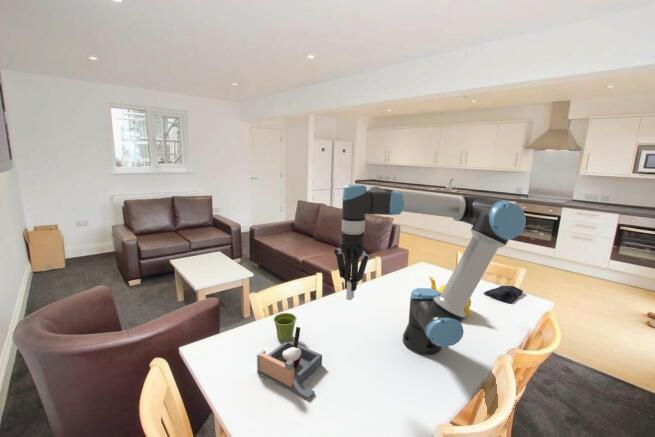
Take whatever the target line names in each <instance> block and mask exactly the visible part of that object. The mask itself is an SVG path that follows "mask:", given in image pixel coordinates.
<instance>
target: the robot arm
mask: <svg viewBox="0 0 655 437" xmlns="http://www.w3.org/2000/svg"><path fill="white" fill-rule="evenodd" d="M341 203H342V205H341V206H342V209H341V210H342V211H341V212H342V213H341V236H340V238H341V239H340V240H341V241H340V243H341V244H340V247H338V248H336V249H334V251H333V252H334V254H335V256H336V260H337V261H336V262H337V268H338V273H339V278H341V279H344V289H345V290H346V293H345V295H346V296H345V298H346V300H347V301H351V300H353V299H354V298H355V291H357V289H358V288H357V286H358V285H357V283H359V282H360V281H362V280H363V277H364V276H365V271H366V267H367V266H368V261H369V260H370V258H371V257H372V256H371V254H370V253H369V254H368V253H367V252H366V251H365V250H366V249H365V247H364V244H365V233H364V232H365V228H366V227H365V225H366V223H365V222H366V215H379V216H380V215H381V216H382V215H384V216H388V215H389V216H394V215H395V216H396V215H401V214H402V212H404V213H414V214H421V215H429V216H438V217H444V218H452V219H453V220H454V221H456V222H460V223H461V222H462V223H465V224H469V225H471V229H470V232H471V235H472V237H471V238H470V241H469V242H468V245H467V246H466V248H465V250H464V252H463V254H462V255H461V257H460V259H459V261H458V263H457V264H456V267H455V268H454V270H453V271H452V274H451V275H450V277H449V279H448V280H447V282H446V284H445V285H446V286H445V288H444V290H443V292H442V293H440V292H439V291H437V290H438V289H437V290H434V289H431V288H427V287H417V288H414V289H413V290H412V291H411V293H410V300H409V301H410V302H409V312H408V323H407V326H406V328H405V330H404V332H403V334H402V342H403V345H404V346H405V348H407V349H409V350H410V351H412V352H414V353H416V354H417V353H418V354H421V355H435V354H437V353H439V352H440V351H441V350H442V348H447V347H448V348H449V347H450V346H455V345H456V344H458V343H460V341H461V339H463V336H464V332H465V331H464V327H463V324H462V323H463V321H464V320H465V318H466V317H467V316H466V315H465V312H464V308H465V306H466V304H467V302H468V301H469V299H471V297H472V295H473V293H474V291H475V290H476V288H477V286H478V284H479V283H480V281H481V279H482V277H483V275H484V274H485V272H486V270H487V269H488V267H489V265H490V263H491V262H492V260H493V259H494V256H495V255H496V253H497V251H498V250H499V248H503V247H506V245H508V242H509V241H510V240H513V239H515V238H518V237H520V235H521V234H522V233H523V232H524V230H525V229H526V222H527V218H526V215H525V212H524V210H523V208H522V207H521V206H519V205H518V204H516V203H514V202H512V201H508V200H505V199H499V198H494V197H490V196H482V195H481V196H479V195H478V196H471V195H457V196H456V197H455V196H454V197H453V196H446V195H439V194H431V193H422V192H413V191H408V190H399V189H390V188H381V187H379V186H371V187H369V188H367V186H366V185H365V184H355V183H353V184H345V186H343V192H342V202H341ZM360 257H361V258H360ZM360 259H361V261H360ZM359 261H360V264H359Z"/></svg>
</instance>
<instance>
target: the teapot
mask: <svg viewBox="0 0 655 437" xmlns="http://www.w3.org/2000/svg"><path fill="white" fill-rule="evenodd" d="M428 278H429V280H430V283H431V285H430V286H431V287H430V289H434V290H437V291H439V292H440V293H442V292H443V290H444V288H445V286H446V284H443V285H441V286H440V287H438V289H437V284H436V281H435V279H434V278H433V277H431V276H428ZM471 305H472V300H471V298H470V299H469V301H468V302H467V304H466V306H465V308H464V312H465V315H466V316H465V317H470V316H471V315H472V311H471V310H470V307H471Z"/></svg>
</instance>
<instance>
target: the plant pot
mask: <svg viewBox="0 0 655 437" xmlns="http://www.w3.org/2000/svg"><path fill="white" fill-rule="evenodd" d="M297 319H298V318H297V316H296V315H295V314H293V313H290V312H283V313H278V314H276V315H275V316H274V317H273V323H274V325H275V329H276V336H277V340H278V341H280V342H283V343H285V342H286V341H287V340H289V341H291V340H292V339H293V336H294V330H295V324H296V322H297Z"/></svg>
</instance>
